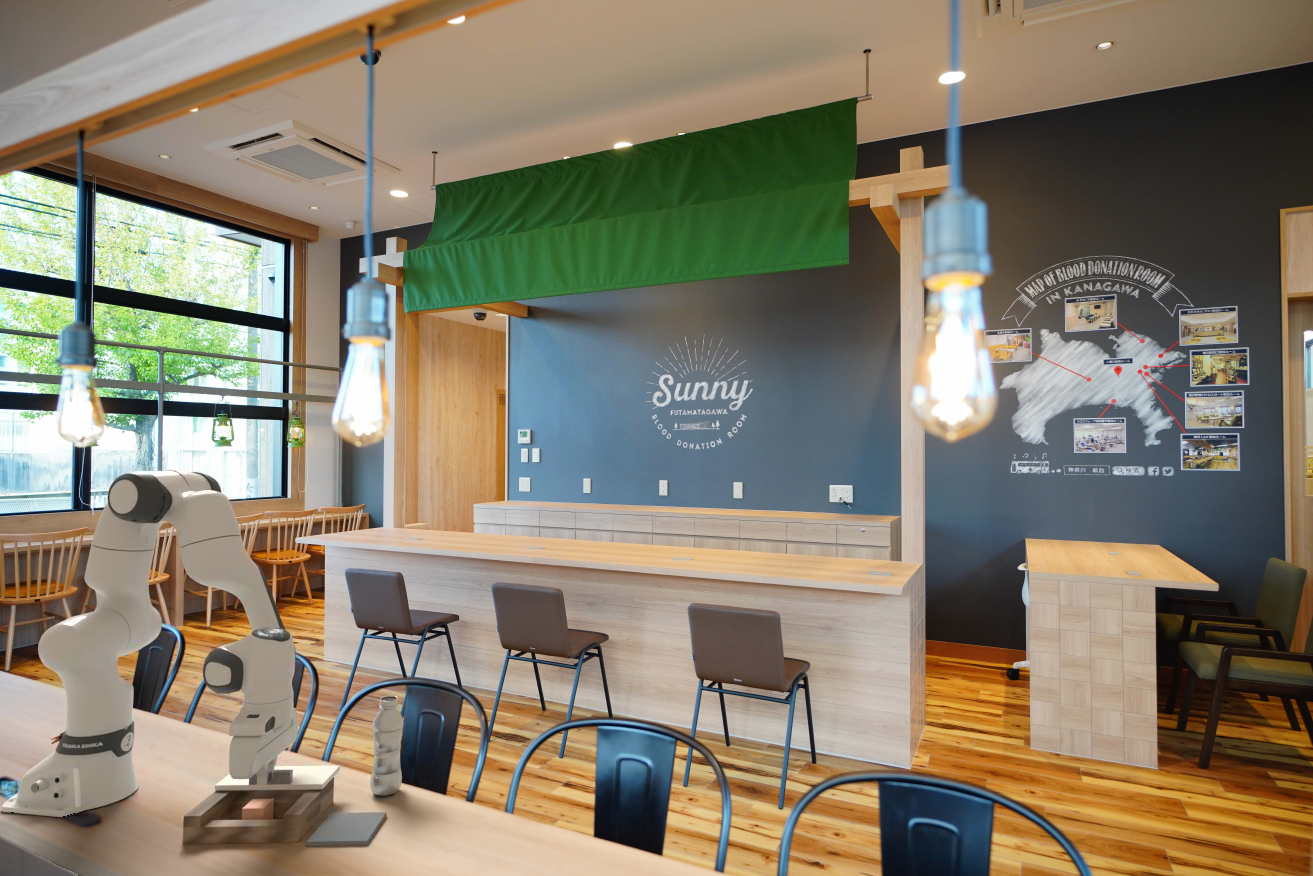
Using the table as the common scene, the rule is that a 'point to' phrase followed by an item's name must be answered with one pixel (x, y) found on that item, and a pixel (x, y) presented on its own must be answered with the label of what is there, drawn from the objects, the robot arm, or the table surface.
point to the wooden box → (221, 805)
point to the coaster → (347, 829)
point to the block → (258, 809)
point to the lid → (285, 779)
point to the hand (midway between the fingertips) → (265, 782)
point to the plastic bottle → (387, 748)
